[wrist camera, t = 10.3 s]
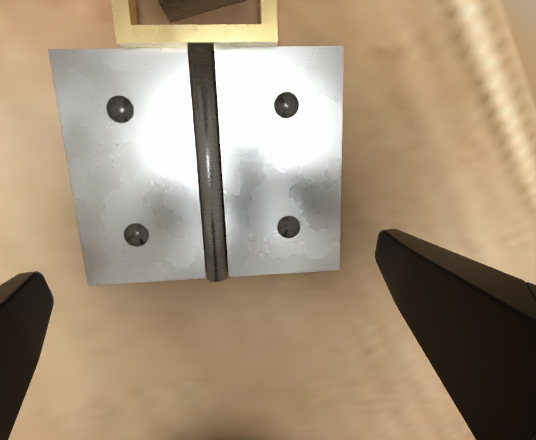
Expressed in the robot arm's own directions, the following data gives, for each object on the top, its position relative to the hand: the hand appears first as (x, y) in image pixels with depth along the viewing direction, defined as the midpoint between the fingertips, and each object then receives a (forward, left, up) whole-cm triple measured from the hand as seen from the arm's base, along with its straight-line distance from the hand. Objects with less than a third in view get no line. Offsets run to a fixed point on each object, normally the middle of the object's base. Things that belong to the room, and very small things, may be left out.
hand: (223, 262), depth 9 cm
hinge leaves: (+6, +1, -11) cm, 13 cm away
